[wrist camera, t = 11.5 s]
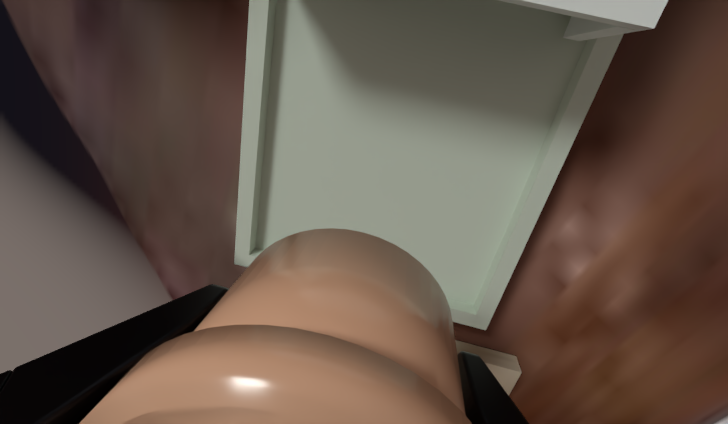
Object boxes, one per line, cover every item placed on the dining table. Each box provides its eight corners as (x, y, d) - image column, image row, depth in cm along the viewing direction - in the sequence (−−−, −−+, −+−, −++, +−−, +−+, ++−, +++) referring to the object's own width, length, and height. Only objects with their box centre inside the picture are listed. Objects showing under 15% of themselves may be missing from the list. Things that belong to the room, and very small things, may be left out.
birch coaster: (516, 356, 20) (521, 372, 19) (471, 439, 24) (474, 457, 23) (385, 321, 21) (383, 335, 20) (359, 407, 24) (357, 423, 23)
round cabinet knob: (506, 254, 7) (617, 485, 3) (426, 435, 9) (433, 690, 5) (231, 185, 7) (21, 318, 3) (222, 378, 9) (92, 583, 6)
